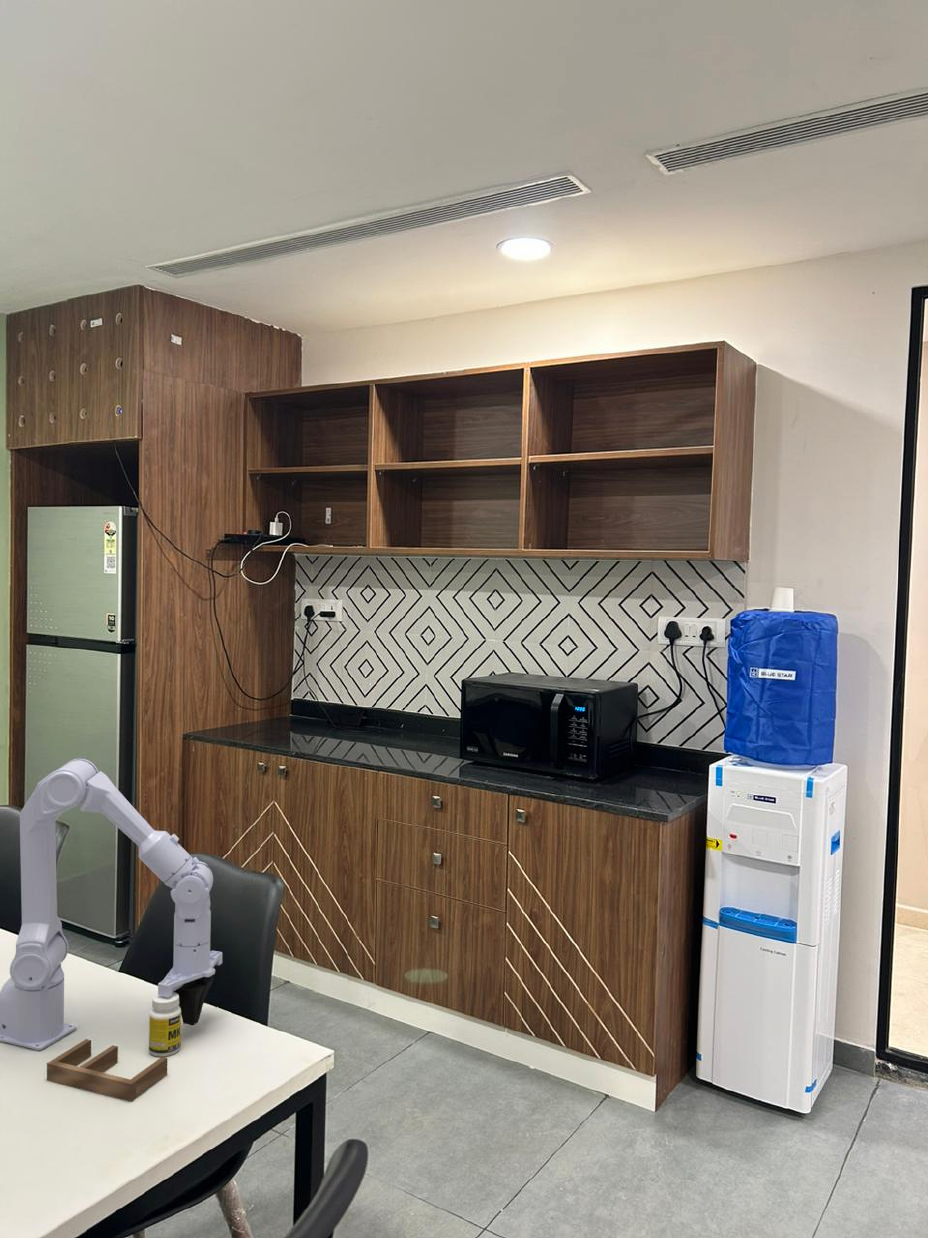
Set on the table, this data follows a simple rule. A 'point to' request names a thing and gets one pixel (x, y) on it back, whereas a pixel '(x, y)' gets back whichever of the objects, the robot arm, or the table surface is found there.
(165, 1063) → the frame
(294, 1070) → the table surface
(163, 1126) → the table surface
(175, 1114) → the table surface
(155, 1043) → the supplement bottle
